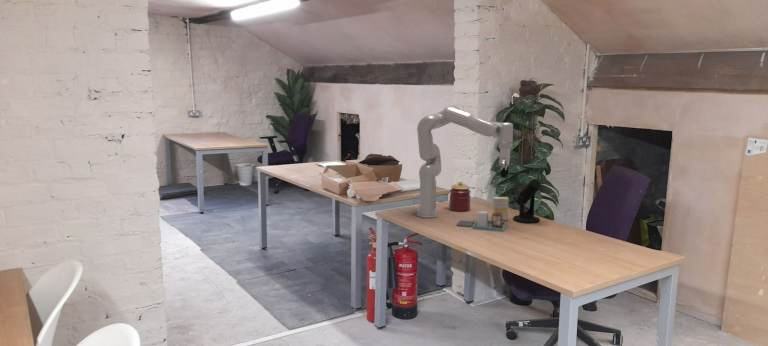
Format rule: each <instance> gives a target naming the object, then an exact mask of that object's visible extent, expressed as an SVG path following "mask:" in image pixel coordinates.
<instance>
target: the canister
mask: <svg viewBox="0 0 768 346" xmlns="http://www.w3.org/2000/svg"><path fill="white" fill-rule="evenodd" d="M450 187H451V189H450V190H449V192H450V195H449V210H450V211H454V212H459V213H460V212H462V213H463V212H469V211H470V209H471V197H472V196H471V192H472V191H471V190H470V186H468V184H463V182H462V181H459V182H458V183H455V184H453V185H451V186H450Z"/></svg>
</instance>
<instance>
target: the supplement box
mask: <svg viewBox="0 0 768 346" xmlns="http://www.w3.org/2000/svg"><path fill="white" fill-rule="evenodd" d="M509 201H510V198H509V197H508V196H493V204H492V205H493V207H492V213H493V212H500V213H503V217H502V221H509Z"/></svg>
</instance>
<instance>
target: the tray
mask: <svg viewBox="0 0 768 346" xmlns="http://www.w3.org/2000/svg"><path fill="white" fill-rule="evenodd" d="M489 224H490V225H492V220H488V225H489ZM506 226H507V221H502V228H493V227H492V226H487V227H482V226H477V219H476V220H475V221H474V224H473V225H472V227H471V228H472V229H473V230H484V231H493V232H494V231H495V232H502V233H503V232H505V231H504V230H505V229H506Z"/></svg>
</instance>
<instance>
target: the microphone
mask: <svg viewBox="0 0 768 346" xmlns="http://www.w3.org/2000/svg"><path fill="white" fill-rule="evenodd" d="M541 187H542V184H541V182H540V181H539V180H537V179H531V180H530V181H529V182H528V184H526V185H525V187H524V188H522V190H520V191H519V194H518V195H517V196H516V200H515V203H516V204H517V205H518V206H519V213H518V215H514V216H513V218H512V220H513V221H514V222H516V223H520V224H524V225H525V224H528V225H529V224H533V225H534V224H538V223H540V222H541V221H540V218H539V217H538V216H535V194H536V193H538V191H539V190H540V189H541ZM528 202H530V203H529V209H528V211H525V205H526V204H527V203H528Z"/></svg>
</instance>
